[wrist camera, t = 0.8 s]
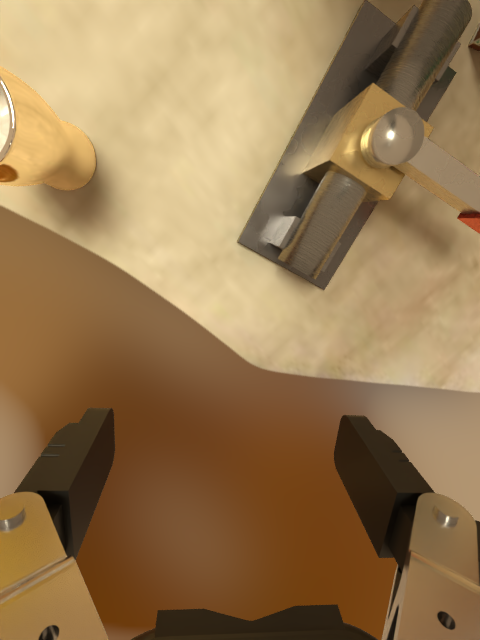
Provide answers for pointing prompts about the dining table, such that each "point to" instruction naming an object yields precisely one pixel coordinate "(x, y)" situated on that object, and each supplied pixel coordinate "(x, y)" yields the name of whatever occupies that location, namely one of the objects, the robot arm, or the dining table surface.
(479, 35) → the food container
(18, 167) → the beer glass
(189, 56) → the dining table surface
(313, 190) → the valve pipe
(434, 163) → the valve lever
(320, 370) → the dining table surface
